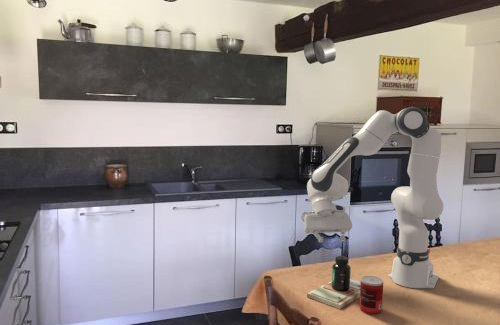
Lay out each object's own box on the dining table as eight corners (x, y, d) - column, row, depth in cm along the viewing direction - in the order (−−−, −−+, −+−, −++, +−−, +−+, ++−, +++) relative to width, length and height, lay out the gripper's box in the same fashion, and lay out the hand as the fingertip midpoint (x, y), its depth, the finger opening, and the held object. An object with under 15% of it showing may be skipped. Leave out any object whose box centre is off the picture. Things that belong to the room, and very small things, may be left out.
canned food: (377, 304, 156) (379, 275, 155) (385, 315, 148) (386, 284, 147) (356, 304, 156) (358, 275, 155) (363, 314, 148) (364, 284, 147)
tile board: (340, 279, 179) (340, 275, 179) (371, 289, 170) (371, 284, 170) (306, 297, 161) (307, 291, 161) (339, 309, 152) (340, 303, 152)
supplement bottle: (330, 290, 163) (332, 259, 162) (332, 283, 170) (333, 254, 168) (349, 292, 161) (350, 261, 160) (350, 286, 168) (351, 256, 166)
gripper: (302, 208, 176) (310, 238, 168) (348, 206, 181) (358, 236, 172) (298, 216, 181) (305, 246, 173) (343, 214, 186) (352, 243, 177)
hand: (332, 241), depth 173 cm, fingers open, 8 cm apart
